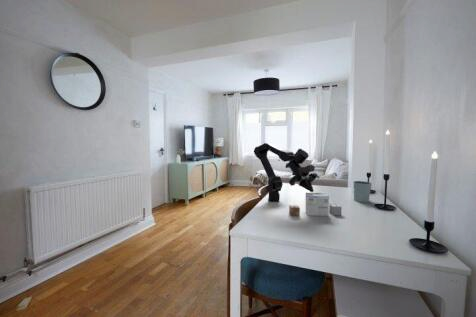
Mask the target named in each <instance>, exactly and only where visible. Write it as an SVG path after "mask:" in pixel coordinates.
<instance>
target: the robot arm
mask: <svg viewBox="0 0 476 317" xmlns="http://www.w3.org/2000/svg"><path fill="white" fill-rule="evenodd" d="M268 152H271V153H273V154H275V155H277V156H278V158H279V159H280V160H281V161H282V162H287V163H285V169H288V168H289V169H290V170H291V172H292V173H291V174H292V175H291V176H292V177H291V179H289V180H288V183H289V185H290V186H291V187H293V186H296V183H297V182H298V184H297V185H298V186H299V187H302V188H304V189H305V190H307V191H309V193H314V191H315V190H314V188H313V184H312V182H314V181H315V180H316V179H317V178H318V177H319V175H318V174H317V173H316V172H315V170H316V169H315V168H316V167H315V165H313V164H309V165H306V166H301V165H302V164H303V163H304V162H305V161H306V160H307V159H308V158H309V153H308V152H307V151H306V150H304V149H302V148H298V149H297V151H296V152H295V153H294V152H293V151H291V150H285V149H282V148H280V147H278V146H276V145H275V144H272V143H271V142H263V144H260V145H258V146H255V147H254V149H253V153H254V156H255V157H256V158H257V159H258V160H259V161H260V162H261V164H262V167H263V169H264V171H265V174H266V176H267V178H268V180H267V183H268V185H267V186H266V188H265V191H266V192H267V193H268V198H267V200H268V202H269V203H270V202H271V203H273V202H274V203H276V202H277V203H279V202H280V199H281V198H280V196H281V194H280V192H281V191H282V188H283V185H284V184H283V180H282V179H281V176H279V175H277V174H275V171H274V168H273V167H272V164H271V163H270V160H269V158H268ZM314 172H315V173H314Z"/></svg>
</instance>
